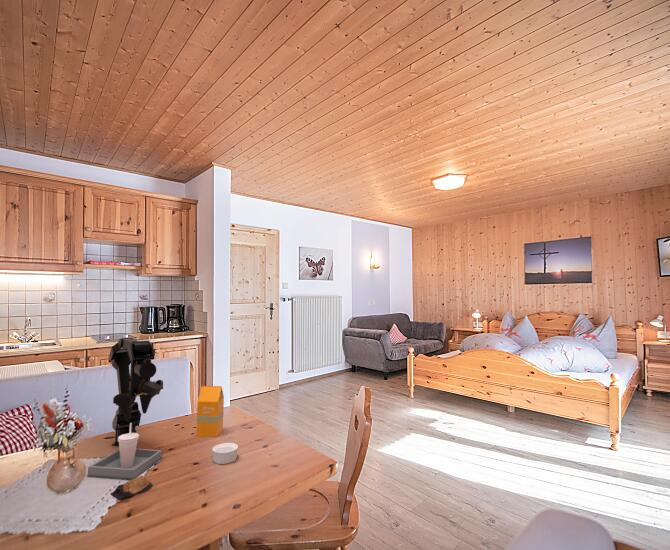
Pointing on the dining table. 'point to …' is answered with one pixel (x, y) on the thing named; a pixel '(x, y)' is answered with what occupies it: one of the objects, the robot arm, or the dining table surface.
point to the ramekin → (224, 453)
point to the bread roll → (132, 488)
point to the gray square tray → (113, 469)
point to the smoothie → (127, 448)
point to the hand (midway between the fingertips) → (136, 417)
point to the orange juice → (210, 411)
